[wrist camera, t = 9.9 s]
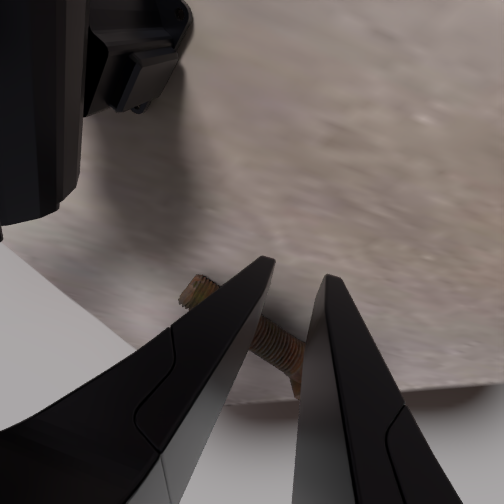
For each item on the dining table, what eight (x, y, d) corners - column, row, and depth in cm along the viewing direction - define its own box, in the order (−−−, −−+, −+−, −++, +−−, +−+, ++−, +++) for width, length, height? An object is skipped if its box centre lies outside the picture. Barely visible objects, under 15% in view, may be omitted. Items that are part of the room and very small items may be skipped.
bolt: (207, 255, 28) (328, 339, 30) (177, 296, 28) (298, 375, 31) (199, 274, 22) (349, 375, 24) (162, 324, 23) (311, 418, 25)
